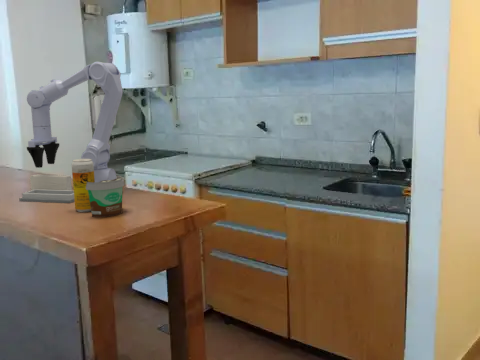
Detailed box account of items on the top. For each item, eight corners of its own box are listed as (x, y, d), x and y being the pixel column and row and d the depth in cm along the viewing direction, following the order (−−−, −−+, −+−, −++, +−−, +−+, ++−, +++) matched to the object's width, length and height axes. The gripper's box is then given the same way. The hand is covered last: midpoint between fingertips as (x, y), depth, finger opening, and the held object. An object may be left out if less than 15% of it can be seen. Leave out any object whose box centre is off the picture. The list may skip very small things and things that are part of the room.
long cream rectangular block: (72, 192, 173) (70, 175, 172) (67, 194, 170) (65, 177, 169) (36, 191, 176) (35, 174, 175) (31, 192, 173) (29, 176, 172)
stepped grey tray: (85, 196, 164) (84, 190, 163) (70, 203, 155) (69, 196, 155) (36, 195, 168) (35, 188, 168) (19, 201, 159) (18, 194, 159)
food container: (103, 220, 134) (100, 184, 132) (88, 217, 137) (85, 182, 135) (135, 210, 144) (133, 177, 142) (120, 208, 148) (118, 175, 146)
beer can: (77, 213, 142) (73, 162, 139) (73, 209, 147) (69, 159, 144) (98, 210, 145) (95, 160, 142) (94, 206, 150) (90, 157, 147)
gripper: (42, 124, 175) (46, 162, 178) (18, 127, 161) (22, 168, 164) (61, 124, 174) (64, 162, 177) (38, 128, 160) (41, 169, 163)
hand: (45, 165), depth 170 cm, fingers open, 7 cm apart
